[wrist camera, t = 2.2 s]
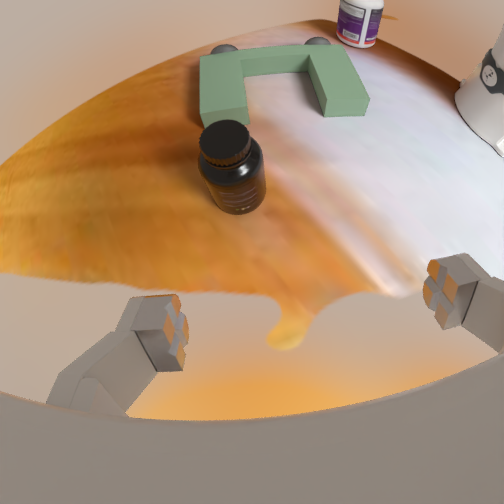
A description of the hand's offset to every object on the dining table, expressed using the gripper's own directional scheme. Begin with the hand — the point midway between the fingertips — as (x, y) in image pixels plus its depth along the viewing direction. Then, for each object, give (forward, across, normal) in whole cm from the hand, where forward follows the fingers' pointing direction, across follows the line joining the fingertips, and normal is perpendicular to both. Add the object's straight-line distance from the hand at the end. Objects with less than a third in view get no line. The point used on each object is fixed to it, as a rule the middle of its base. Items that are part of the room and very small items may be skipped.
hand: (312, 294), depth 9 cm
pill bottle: (+52, -22, -17) cm, 60 cm away
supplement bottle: (+29, +4, +6) cm, 30 cm away
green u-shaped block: (+42, -4, -7) cm, 42 cm away
